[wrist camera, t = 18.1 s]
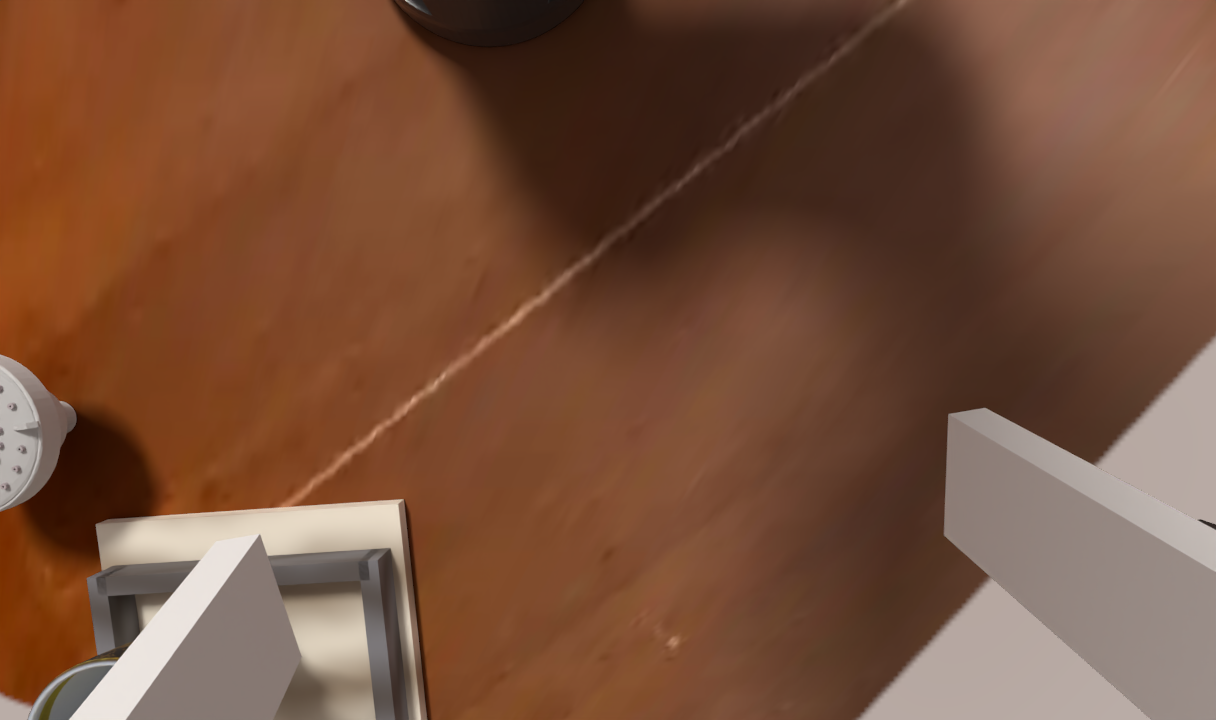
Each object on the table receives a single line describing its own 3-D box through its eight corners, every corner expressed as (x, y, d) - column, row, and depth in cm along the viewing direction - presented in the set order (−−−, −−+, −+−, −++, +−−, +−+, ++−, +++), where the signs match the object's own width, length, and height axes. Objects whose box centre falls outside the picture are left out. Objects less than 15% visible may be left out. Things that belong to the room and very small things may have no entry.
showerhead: (50, 510, 35) (-120, 534, 35) (151, 476, 42) (9, 497, 43) (13, 338, 34) (-159, 366, 35) (122, 334, 41) (-22, 357, 42)
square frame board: (108, 519, 42) (68, 534, 39) (403, 499, 41) (385, 513, 38) (151, 832, 44) (116, 870, 41) (437, 821, 43) (422, 859, 40)
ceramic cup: (211, 747, 42) (79, 881, 32) (142, 612, 42) (-14, 707, 32) (385, 671, 41) (304, 785, 31) (315, 532, 41) (211, 603, 31)
